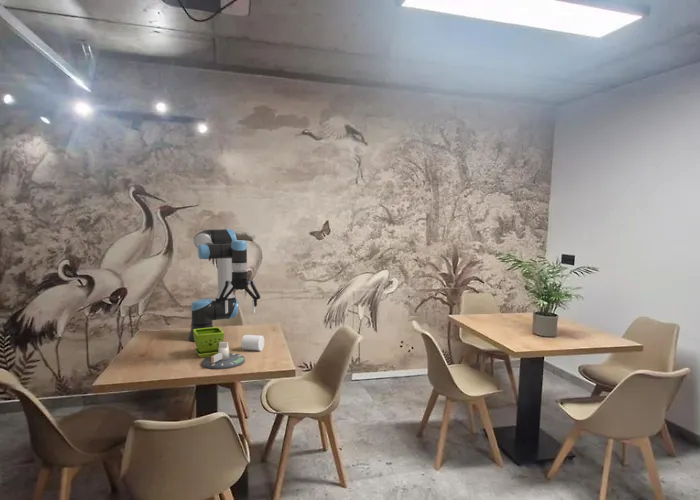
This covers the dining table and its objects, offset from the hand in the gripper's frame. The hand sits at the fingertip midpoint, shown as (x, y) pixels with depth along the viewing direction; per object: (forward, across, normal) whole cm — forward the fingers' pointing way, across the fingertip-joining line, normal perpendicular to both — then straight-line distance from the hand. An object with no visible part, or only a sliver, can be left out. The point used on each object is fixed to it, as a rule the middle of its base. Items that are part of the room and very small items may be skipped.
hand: (240, 313), depth 222 cm
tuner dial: (+23, -7, -6) cm, 25 cm away
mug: (+24, +4, +17) cm, 30 cm away
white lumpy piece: (+22, -8, -9) cm, 25 cm away
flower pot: (+24, -19, +8) cm, 31 cm away
